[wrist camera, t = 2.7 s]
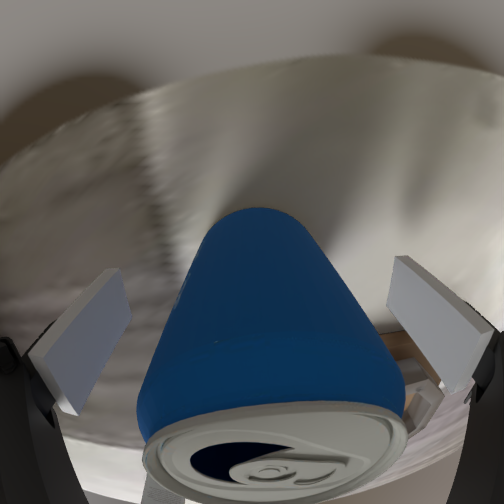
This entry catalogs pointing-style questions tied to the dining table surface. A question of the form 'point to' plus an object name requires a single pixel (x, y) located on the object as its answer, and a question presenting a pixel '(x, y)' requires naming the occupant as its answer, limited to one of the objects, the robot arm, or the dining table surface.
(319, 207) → the dining table surface
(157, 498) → the small box
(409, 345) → the socket
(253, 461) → the beverage can
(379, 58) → the dining table surface
